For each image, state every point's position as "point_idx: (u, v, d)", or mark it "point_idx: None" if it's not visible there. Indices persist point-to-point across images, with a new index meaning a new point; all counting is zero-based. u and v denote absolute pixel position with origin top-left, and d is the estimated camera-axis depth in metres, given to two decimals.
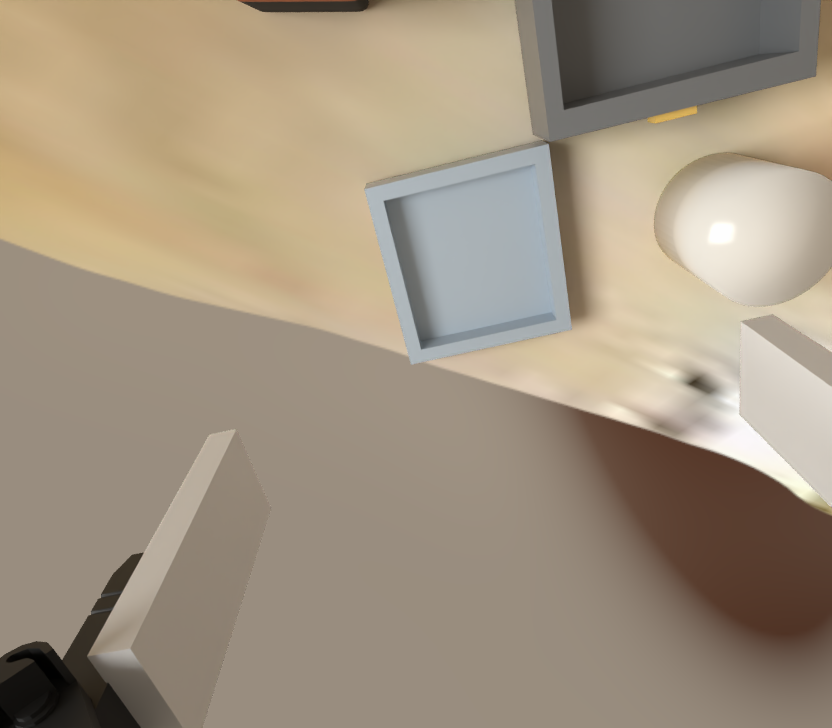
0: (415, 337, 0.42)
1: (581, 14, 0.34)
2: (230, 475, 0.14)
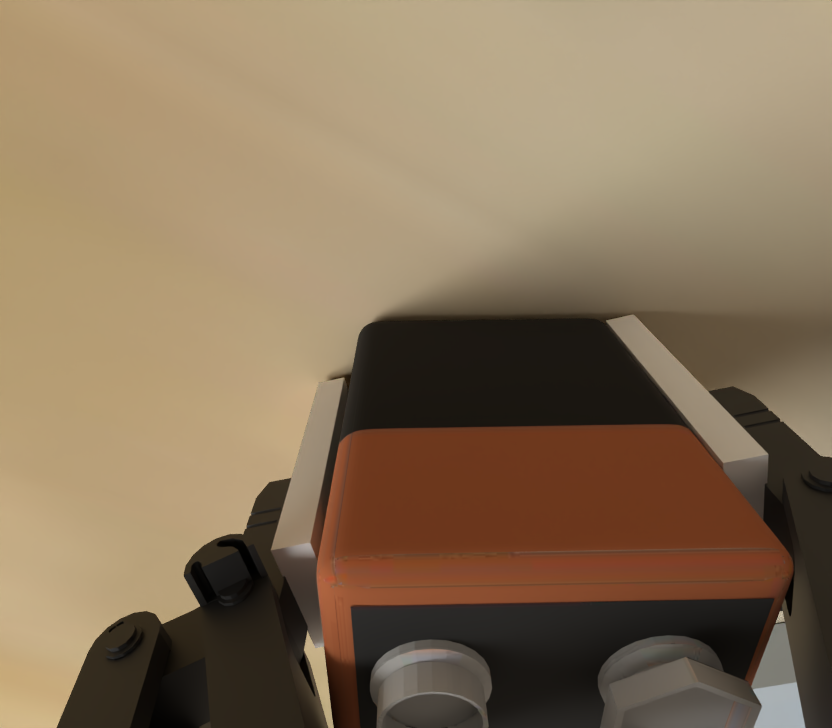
0: None
1: None
2: None
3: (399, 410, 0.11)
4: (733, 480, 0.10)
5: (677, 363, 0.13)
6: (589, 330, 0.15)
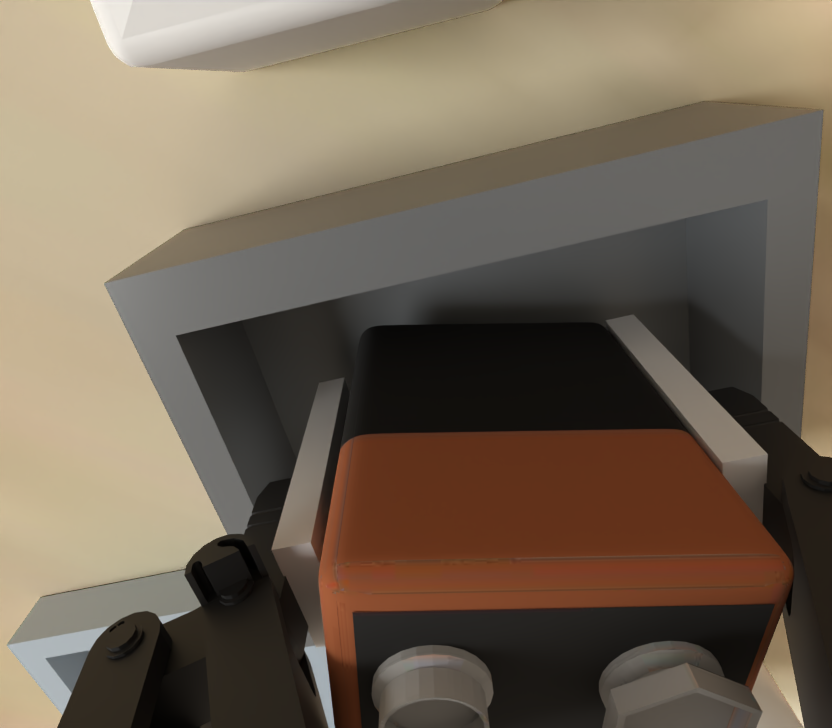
0: None
1: None
2: (345, 416, 0.15)
3: (400, 414, 0.11)
4: (732, 480, 0.10)
5: (676, 363, 0.13)
6: (589, 333, 0.15)
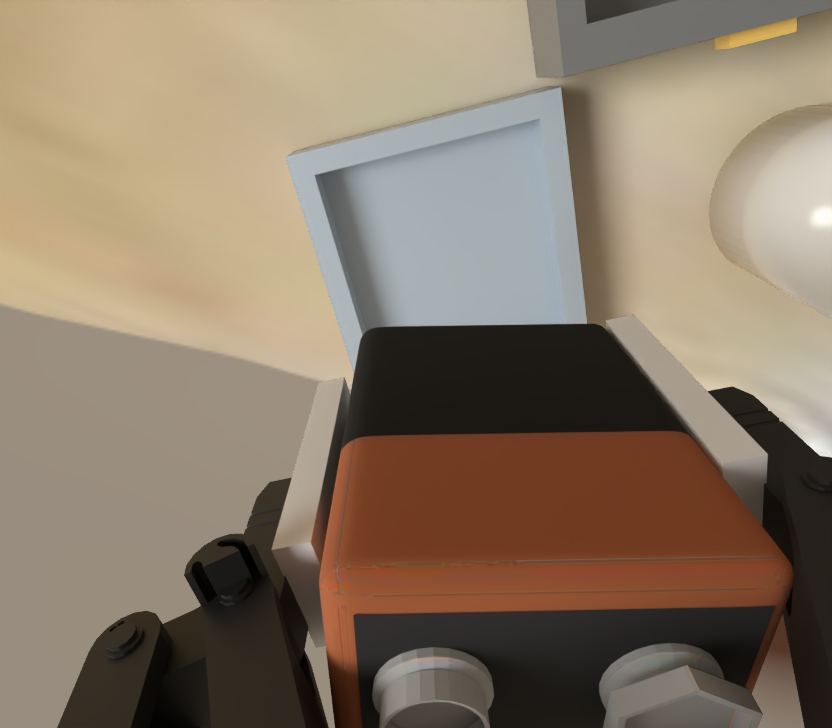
0: None
1: None
2: (345, 416, 0.15)
3: (401, 417, 0.11)
4: (732, 480, 0.10)
5: (676, 363, 0.13)
6: (590, 335, 0.15)
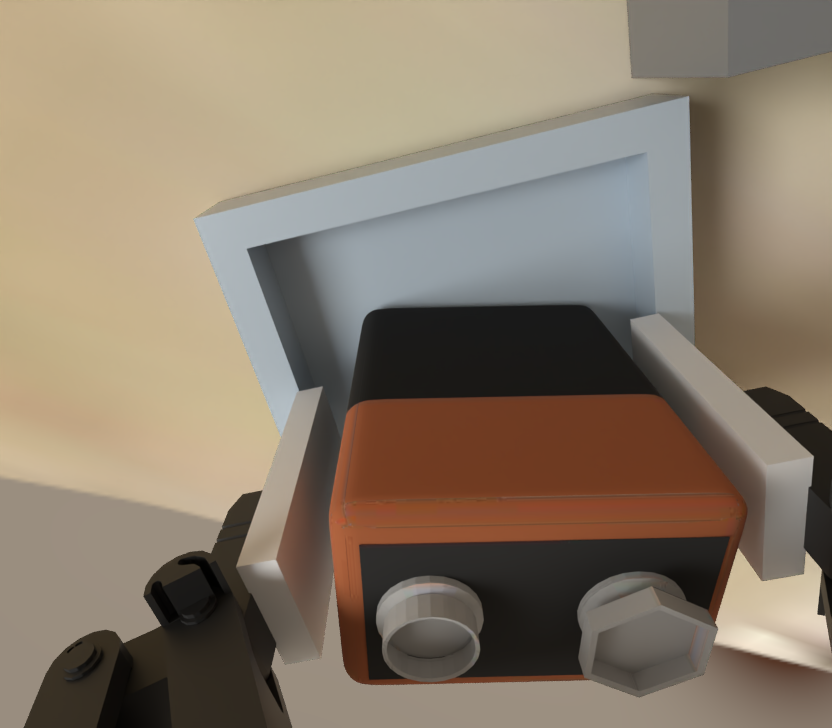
0: None
1: None
2: (322, 426, 0.15)
3: (400, 384, 0.12)
4: (776, 483, 0.10)
5: (708, 363, 0.13)
6: (576, 315, 0.16)
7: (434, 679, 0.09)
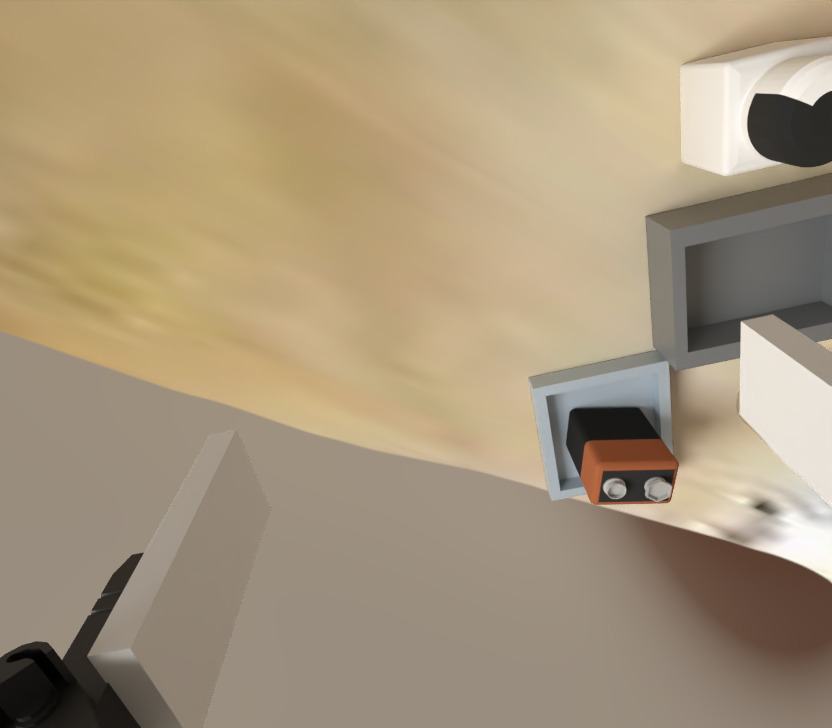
0: (557, 483, 0.57)
1: (696, 278, 0.49)
2: (230, 475, 0.14)
3: (596, 435, 0.50)
4: None
5: None
6: (636, 412, 0.54)
7: (616, 498, 0.47)
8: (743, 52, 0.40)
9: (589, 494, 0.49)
